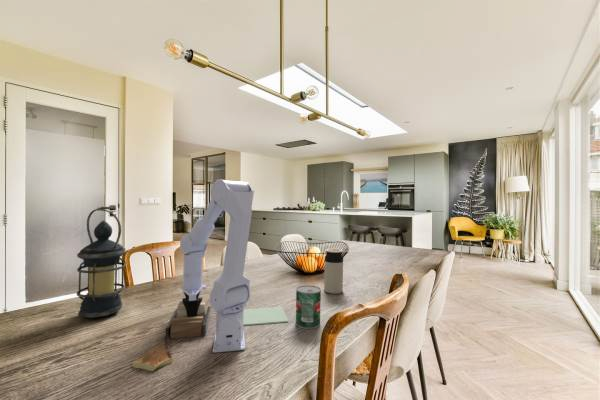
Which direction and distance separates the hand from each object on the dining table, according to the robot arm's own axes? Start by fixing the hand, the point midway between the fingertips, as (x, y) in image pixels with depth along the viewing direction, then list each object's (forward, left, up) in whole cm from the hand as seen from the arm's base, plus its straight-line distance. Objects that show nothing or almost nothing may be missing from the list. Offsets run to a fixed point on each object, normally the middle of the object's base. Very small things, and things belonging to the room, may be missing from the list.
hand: (191, 315), depth 87 cm
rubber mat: (0, -20, -2) cm, 20 cm away
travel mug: (+21, -55, -2) cm, 59 cm away
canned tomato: (-8, -36, -2) cm, 37 cm away
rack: (-3, 0, -2) cm, 3 cm away
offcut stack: (-8, 0, -2) cm, 8 cm away
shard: (-20, +6, -2) cm, 21 cm away
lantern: (+11, +30, -2) cm, 32 cm away
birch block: (0, 0, -2) cm, 2 cm away
